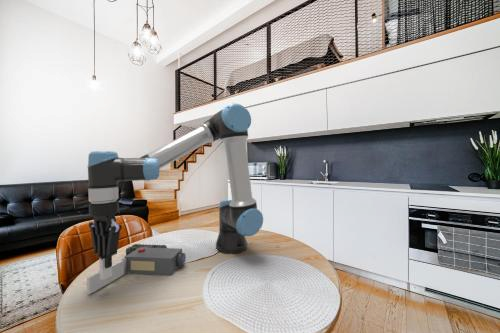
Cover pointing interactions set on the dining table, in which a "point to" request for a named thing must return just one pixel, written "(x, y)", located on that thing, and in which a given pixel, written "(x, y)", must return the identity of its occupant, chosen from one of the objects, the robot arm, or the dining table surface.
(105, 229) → the robot arm
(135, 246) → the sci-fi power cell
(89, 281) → the side door
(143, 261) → the camera body
